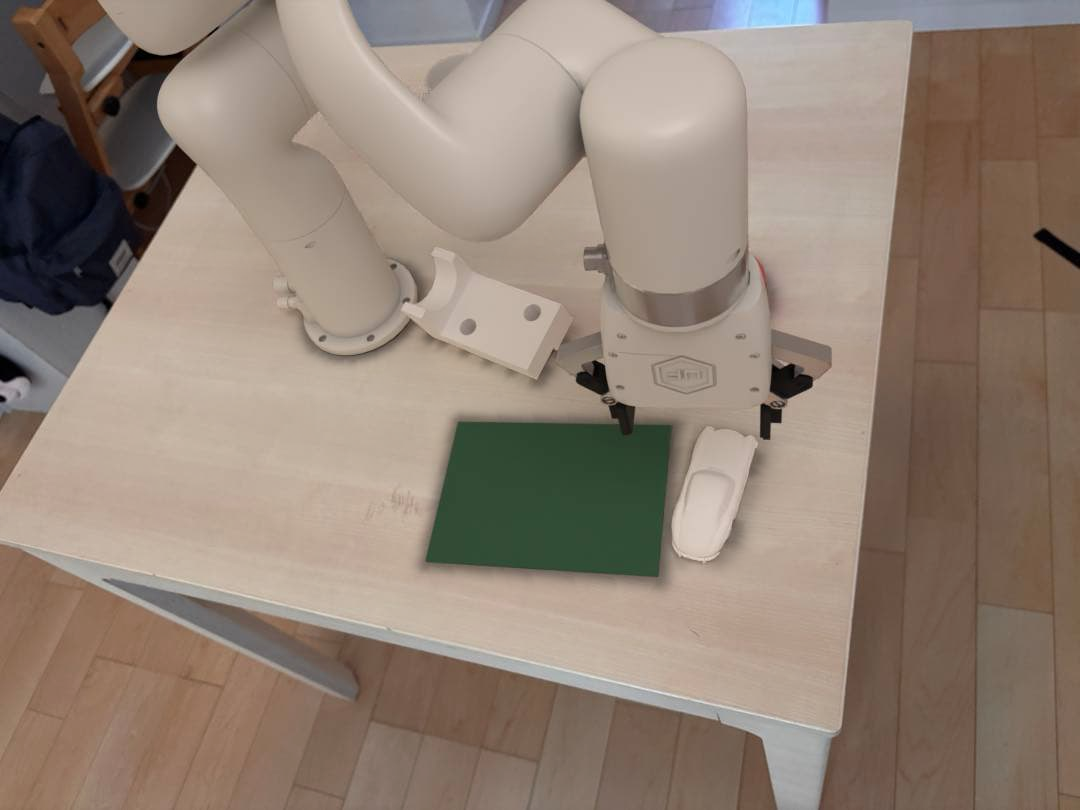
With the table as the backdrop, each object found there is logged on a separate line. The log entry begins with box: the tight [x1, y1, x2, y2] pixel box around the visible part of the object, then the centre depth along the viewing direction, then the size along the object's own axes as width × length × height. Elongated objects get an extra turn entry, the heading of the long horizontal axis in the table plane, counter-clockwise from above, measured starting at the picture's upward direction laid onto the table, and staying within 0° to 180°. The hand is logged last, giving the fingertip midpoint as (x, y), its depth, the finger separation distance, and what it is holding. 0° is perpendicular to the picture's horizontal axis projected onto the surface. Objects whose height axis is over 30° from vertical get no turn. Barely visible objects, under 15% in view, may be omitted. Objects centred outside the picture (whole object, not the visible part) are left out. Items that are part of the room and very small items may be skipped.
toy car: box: [670, 425, 759, 565], centre depth 70 cm, size 5×12×4 cm, turn 158°
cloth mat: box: [425, 421, 672, 578], centre depth 75 cm, size 20×14×1 cm
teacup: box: [424, 52, 470, 93], centre depth 106 cm, size 10×10×5 cm
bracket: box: [401, 246, 574, 381], centre depth 83 cm, size 13×7×8 cm, turn 57°
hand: (696, 420), depth 62 cm, fingers open, 9 cm apart
